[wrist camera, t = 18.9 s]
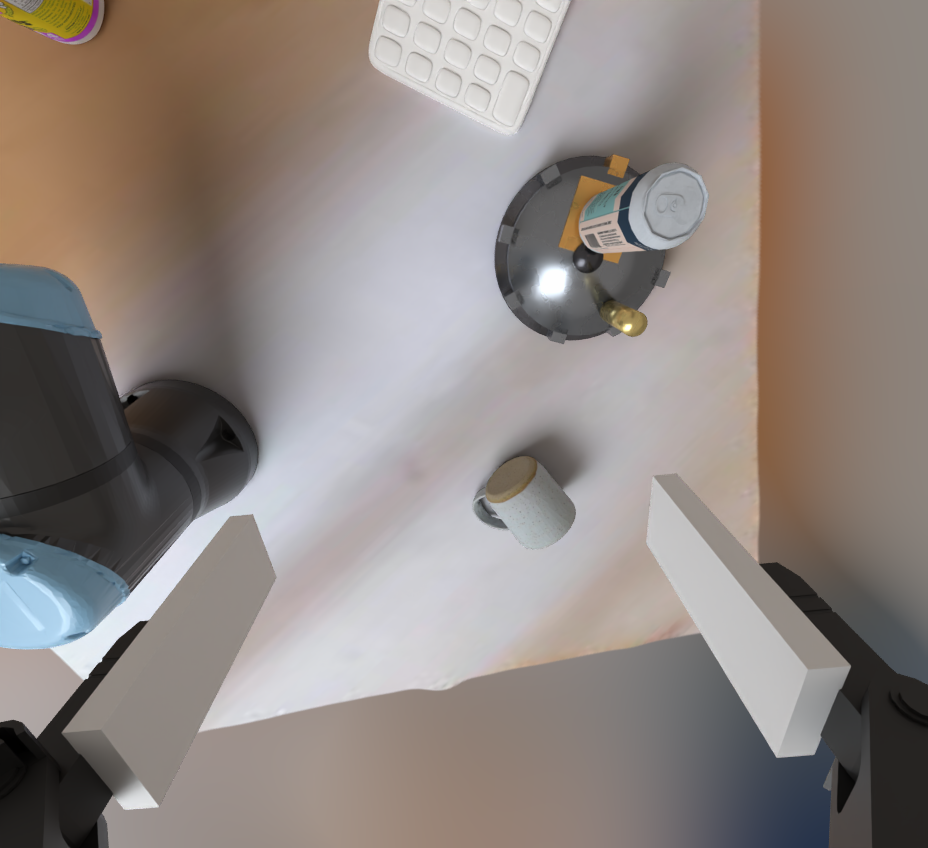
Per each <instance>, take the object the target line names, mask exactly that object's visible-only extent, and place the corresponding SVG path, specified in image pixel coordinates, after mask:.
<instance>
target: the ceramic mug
mask: <svg viewBox="0 0 928 848" xmlns="http://www.w3.org/2000/svg"><path fill="white" fill-rule="evenodd" d="M483 497H487V500H488V502H489V504H490V505H491V507H492V509H493V510H494V511H495V512H496V514H497V515H498V516H499V517H500V518H501V519H498V518H495V517H492V516H490V515H489V514H488V513H487V512H486V511H485V509H484V508H483V507H482V504H481V503H480V501H479V499H481V498H483ZM473 511H474V513H475V515H476V517H477V518H478V519H479V520H480V521H481V522H482V523H484V524H485V525H487V526H489V527H491V528H494V529H498V530H510V531H511V532H512V534H513V535H514V536H515V538H516V539H517V540H518V542H519V543H520V544H521V545H522V546H524V547H525V548H528V549H533V550H534V549H542V548H545V547H548V546H550V545H552V544H554V543H555V542H557V541H558V540H560V539H561V538H562V537H563V536H564V535H565V534H566V533H567V532H568V530H569V529H570V528H571V526H572V524H573V522H574V519H575V515H576V510H575V506H574V504H573V502H572V501H571V500H570V498H569V497H568V496H567V495H566V494H565V492H564V491H563V490H562V489H561V487H560V486H559V485H558V484H557V483H556V481H555V480H554V479H553V478H552V477H551V475H550V474H549V473H548V472H547V470H546V469H545V468H544V467H543V466H542V465H541V464H540V463H539V462H538V461H537V460H535V459H534V458H532V457H529V456H521V457H516V458H514V459H512V460H509V461H508V462H506V463H505V464H503V465H502V466H501V467H500V468H498V469H497V470H496V471H495V472H494V473H493V475H492V476H491V477H490V479H489V481H488V483H487V486H486V488H483V489H482V490H480V491H479V492H478V493H477V494H476V496H475V498H474V501H473Z"/></svg>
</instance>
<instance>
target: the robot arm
mask: <svg viewBox="0 0 928 848" xmlns="http://www.w3.org/2000/svg"><path fill="white" fill-rule="evenodd" d="M101 338H102V334H101V333H100V331H98V330H96V328H95V326H94V324H93V322H92V319H91V317H90V314H89V312H88V309H87V307H86V304H85V302H84V299H83V297H82V294H81V292H80V290H79V289H78V287H77V286H76V285H75V284H74V283H73V282H72V281H71V280H70V279H69V278H68V277H66V276H65V275H63V274H61V273H59V272H57V271H55V270H52V269H49V268H45V267H39V266H30V265H19V264H5V263H0V647H4V648H14V649H44V648H52V647H56V646H61V645H64V644H68V643H71V642H73V641H75V640H77V639H79V638H81V637H83V636H85V635H86V634H88V633H89V632H91V631H92V630H93V629H94V628H95V627H96V626H97V625H98V624H99V623H100V622H101V621H102V620H103V619H104V618H105V617H106V616H107V615H108V614H109V613H110V612H111V611H112V610H113V609H114V608H115V607H117V606H119V605H121V604H122V603H123V602H124V601H125V600H126V599H127V598H128V596H129V595H130V593H131V592H132V591H133V590H134V589H135V588H136V586H137V585H138V584H139V583H140V582H141V581H142V579H143V578H144V577H145V576H146V575H147V574H148V572H149V571H150V570H151V569H152V568H153V567H154V565H155V564H156V563H157V562H158V561H159V560H160V558H161V557H162V556H163V555H164V554H165V553H166V551H167V550H168V549H169V548H170V547H171V546H172V544H173V543H174V542H175V541H176V540H177V539H178V537H179V536H180V535H181V534H182V533H183V532H184V530H185V529H186V528H187V527H188V526H189V525H190V523H191V522H192V521H193V520H195V519H197V518H199V517H201V516H203V515H205V514H207V513H208V512H210V511H212V510H214V509H216V508H218V507H220V506H222V505H224V504H226V503H228V502H229V501H231V500H232V499H233V498H235V497H236V496H237V495H238V494H239V493H240V492H241V491H242V490H243V488H244V487H245V486H246V485H247V484H248V482H249V481H250V480H251V478H252V476H253V475H254V472H255V470H256V466H257V461H258V449H257V444H256V440H255V437H254V434H253V432H252V430H251V428H250V426H249V424H248V423H247V421H246V420H245V418H244V417H243V416H242V415H241V413H240V412H239V411H238V410H237V409H236V408H235V407H234V406H233V405H232V404H231V403H229V402H228V401H227V400H226V399H224V398H223V397H221V396H220V395H218V394H217V393H215V392H213V391H211V390H209V389H207V388H205V387H202V386H200V385H197V384H193V383H190V382H185V381H178V380H161V381H155V382H151V383H148V384H145V385H143V386H141V387H139V388H137V389H135V390H133V391H131V392H129V393H127V394H125V395H124V396H122V397H121V398H119V395H118V392H117V389H116V386H115V383H114V380H113V376H112V373H111V370H110V367H109V364H108V361H107V358H106V355H105V352H104V349H103V346H102V343H101V340H100V339H101ZM646 544H647V545H648V547H649V548H650V550H651V552H652V553H653V555H654V557H655V558H656V560H657V562H658V563H659V565H660V567H661V568H662V570H663V571H664V573H665V575H666V576H667V578H668V580H669V581H670V583H671V585H672V586H673V588H674V590H675V591H676V593H677V594H678V596H679V598H680V599H681V601H682V603H683V604H684V606H685V608H686V609H687V611H688V613H689V614H690V616H691V617H692V619H693V621H694V622H695V624H696V626H697V627H698V629H699V631H700V632H701V634H702V636H703V637H704V639H705V640H706V642H707V644H708V645H709V647H710V649H711V650H712V652H713V654H714V655H715V657H716V659H717V660H718V662H719V663H720V665H721V666H722V668H723V670H724V672H725V673H726V675H727V677H728V678H729V679H730V681H731V683H732V685H733V686H734V688H735V690H736V691H737V693H738V695H739V696H740V698H741V700H742V701H743V703H744V704H745V706H746V708H747V709H748V711H749V713H750V714H751V716H752V718H753V719H754V721H755V723H756V724H757V726H758V728H759V729H760V731H761V732H762V734H763V736H764V737H765V739H766V741H767V742H768V744H769V745H770V747H771V749H772V751H773V752H774V754H775V755H776V757H777V758H778V757H791V756H803V755H814V754H815V751H816V749H817V747H818V744H819V742H820V739H821V737H822V738H823V739H824V741H825V742H826V744H827V745H828V746H829V748H830V749H831V751H832V752H833V753H834V755H835V756H836V758H835V760H834V762H833V764H832V767H831V769H830V771H829V773H828V775H827V778H826V780H825V783H824V785H823V787H824V788H826V789H827V790H829V791H830V790H831V811H830V833H829V848H928V685H927V684H925V683H922V682H921V681H919V680H917V679H915V678H911V677H908V676H904V675H901V674H897V673H896V672H895V671H894V670H892V669H891V668H890V667H889V666H888V665H887V664H886V663H885V662H884V661H883V660H882V659H881V658H880V657H879V656H878V655H877V654H876V653H875V652H874V651H873V650H872V649H871V648H870V647H869V646H868V645H867V644H866V643H865V642H864V641H863V640H862V639H861V638H860V637H859V636H858V635H857V634H856V633H855V632H854V631H853V630H852V629H851V628H850V627H849V626H848V624H846V623H845V621H843V619H841V617H840V616H839V615H838V614H837V613H835V612H833V611H832V609H831V607H830V606H829V605H828V604H827V603H826V602H825V601H824V600H823V599H822V598H819V597H818V596H817V593H816V592H815V591H814V590H813V589H812V588H811V587H810V586H809V585H808V584H807V583H806V582H805V581H804V580H803V579H802V578H801V577H800V576H798V575H797V574H795V573H793V572H792V571H790V570H789V569H786V568H785V567H784V566H782V565H780V564H779V563H777V562H776V563H766V564H758V563H757V562H756V560H755V559H754V558H753V557H752V556H751V555H750V554H749V553H748V552H747V550H746V549H745V548H744V547H743V546H742V545H741V544H740V543H739V542H738V541H737V539H736V538H735V537H734V536H733V535H732V534H731V533H730V532H729V531H728V530H727V528H726V527H725V526H724V525H723V524H722V523H721V522H720V521H719V520H718V518H717V517H716V516H715V515H714V514H713V513H712V512H711V511H710V510H709V509H708V507H707V506H706V505H705V504H704V503H703V502H702V501H701V500H700V499H699V497H698V496H697V495H696V494H695V493H694V492H693V491H692V490H691V489H690V488H689V486H688V485H687V484H686V483H685V482H684V481H683V480H682V479H681V478H680V477H679V475H678V474H667V475H657V476H653V480H652V490H651V500H650V510H649V521H648V531H647V541H646ZM275 579H276V575H275V572H274V569H273V567H272V564H271V561H270V559H269V556H268V553H267V551H266V548H265V545H264V543H263V540H262V538H261V535H260V532H259V530H258V527H257V524H256V522H255V519H254V516H253V514H252V515H242V516H231V517H229V519H228V520H227V521H226V522H225V524H224V525H223V526H222V528H221V529H220V530H219V531H218V533H217V534H216V535H215V537H214V538H213V539H212V540H211V542H210V543H209V544H208V545H207V547H206V548H205V549H204V551H203V552H202V553H201V554H200V556H199V557H198V558H197V560H196V561H195V562H194V563H193V565H192V566H191V567H190V569H189V570H188V571H187V572H186V574H185V575H184V576H183V578H182V579H181V580H180V581H179V583H178V584H177V585H176V587H175V588H174V589H173V590H172V592H171V593H170V594H169V596H168V597H167V598H166V599H165V601H164V602H163V603H162V605H161V606H160V607H159V608H158V610H157V611H156V612H155V614H154V615H153V616H152V617H151V619H150V620H149V621H140V622H138V623H137V624H136V625H135V626H134V627H132V628H131V629H130V630H129V631H127V632H126V633H125V634H124V635H123V636H121V637H120V638H119V639H118V640H117V641H116V642H115V644H114V645H113V646H112V647H111V649H110V650H109V651H108V652H107V653H106V655H105V656H104V657H103V658H102V662H101V663H98V664H97V666H96V667H95V668H94V669H93V671H92V672H91V673H90V674H89V678H88V679H85V680H84V682H83V683H82V684H81V685H80V686H79V688H78V689H77V690H76V691H75V692H74V694H73V695H72V696H71V697H70V699H69V700H68V701H67V702H66V703H65V705H64V706H63V707H62V708H61V710H60V711H59V712H58V713H57V715H56V716H55V717H54V718H53V719H52V721H51V722H50V723H49V724H48V725H47V727H46V728H45V729H44V731H43V732H42V733H41V734H40V735H39V736H38V738H37V739H36V738H35V736H34V735H33V734H32V733H31V732H30V731H29V730H28V728H27V727H26V726H25V725H24V724H23V723H22V722H19V721H16V720H10V721H5V722H0V848H109V846H108V832H107V823H106V820H105V818H104V816H103V815H102V812H103V810H104V808H105V807H106V805H107V803H108V802H109V800H110V798H111V797H112V795H113V796H114V797H115V799H116V800H117V801H118V802H119V803H120V805H121V806H122V807H123V808H124V810H128V809H141V808H153V807H160V805H161V803H162V801H163V799H164V797H165V795H166V793H167V791H168V789H169V787H170V785H171V783H172V781H173V779H174V777H175V775H176V773H177V772H178V770H179V768H180V765H181V764H182V762H183V759H184V758H185V756H186V754H187V752H188V750H189V748H190V746H191V744H192V742H193V740H194V738H195V736H196V734H197V732H198V730H199V728H200V726H201V724H202V723H203V721H204V719H205V717H206V715H207V713H208V711H209V709H210V707H211V705H212V703H213V701H214V699H215V697H216V695H217V693H218V691H219V689H220V687H221V685H222V683H223V681H224V679H225V677H226V675H227V674H228V672H229V670H230V668H231V666H232V664H233V662H234V660H235V658H236V656H237V654H238V652H239V650H240V648H241V646H242V644H243V642H244V640H245V638H246V636H247V634H248V632H249V630H250V628H251V626H252V625H253V623H254V621H255V619H256V617H257V615H258V613H259V611H260V609H261V607H262V605H263V603H264V601H265V599H266V597H267V595H268V593H269V591H270V589H271V587H272V585H273V583H274V581H275ZM831 787H832V788H831Z"/></svg>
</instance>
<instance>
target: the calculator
mask: <svg viewBox="0 0 928 848" xmlns="http://www.w3.org/2000/svg"><path fill="white" fill-rule="evenodd" d="M496 2H497V3H496ZM561 2H562V3H561ZM570 2H571V0H380V1H379V5H378V9H377V13H376V17H375V21H374V25H373V29H372V33H371V38H370V43H369V59H370V62H371V63H372V65H373V66H374V67H375V68H376V69H377V70H379V71H380V72H382V73H383V74H385V75H387V76H389V77H391V78H392V79H394V80H396V81H398V82H400V83H402V84H404V85H406V86H408V87H410V88H412V89H414V90H416V91H418V92H420V93H422V94H424V95H426V96H428V97H430V98H432V99H434V100H436V101H438V102H440V103H442V104H444V105H446V106H448V107H450V108H451V109H453V110H455V111H457V112H459V113H461V114H463V115H465V116H467V117H469V118H471V119H473V120H475V121H477V122H479V123H481V124H483V125H485V126H487V127H489V128H491V129H493V130H495V131H497V132H499V133H502V134H505V135H514V134H515V133H517V132H518V130H519V129H520V127H521V125H522V123H523V121H524V118H525V116H526V114H527V111H528V109H529V106H530V104H531V101H532V99H533V96H534V94H535V91H536V88H537V86H538V83H539V81H540V78H541V76H542V73H543V71H544V68H545V65H546V63H547V60H548V58H549V55H550V53H551V50H552V48H553V45H554V43H555V40H556V37H557V35H558V32H559V30H560V27H561V25H562V22H563V20H564V17H565V15H566V12H567V9H568V7H569V4H570ZM423 3H424V4H423ZM450 4H451V5H450ZM495 5H496V6H495ZM456 14H457V15H456ZM455 17H456V18H455ZM526 19H527V20H526ZM551 26H552V27H551ZM415 31H416V32H415ZM440 33H441V34H440ZM414 35H415V36H414ZM547 38H548V39H547ZM510 43H511V44H510ZM446 46H447V47H446ZM444 53H445V54H444ZM477 59H478V60H477ZM475 64H476V65H475ZM500 70H501V71H500ZM437 75H438V76H437ZM436 78H437V79H436ZM461 79H462V80H461ZM435 82H436V84H435ZM470 84H471V85H470ZM501 87H502V88H501ZM497 98H498V99H497ZM523 101H524V102H523ZM518 114H519V115H518ZM516 119H517V120H516Z"/></svg>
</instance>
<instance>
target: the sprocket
mask: <svg viewBox="0 0 928 848" xmlns="http://www.w3.org/2000/svg"><path fill="white" fill-rule="evenodd" d="M629 160H630V159H627V158H624V157H621V156H618V155H611V156H609V157H607V158H606V159H605V162H604V165H603V167H602V166H591V167H583V168H579V169H574V170H572V171H569V172H567V173H564V174H562V175H560V173H559V170H558V168H557V166H556V164H555V165H553V166H551V167H550V168H548V169H547V170H545V171H544V172H542V173H541V174H539V175H538V176H536V177H537V180H538V182H539V184H540V186H541V188H539V189H538V190H537V191H536V192H535V193H534V194H533V195H532V196H531V197H530V198H529V199H528V201H527V202H526V203H525V204H524V205H523V207H522V209H521V210H520V212H519V213H518V215H517V217H516V219H515V221H514V223H513V225H512V227H511V226H507V225H502V226H501V230H500V233H499V237H498V241H499V242H502V243H506V244H507V250H506V269H507V276H508V280H509V283H510V287H511V290H509V291H507V292H506V293H504V294H503V295H504V297H505V299H506V301H507V303H508V305H509V307H510V308H511V310H514V309H516V308H517V307H519V306H522V308H523V309H524V310H525V311H526V312H527V313H528V315H529V316H531V317H532V318H533V319H534V320H535V321H536V322H538V323H539V324H541V325H542V326H544V327H546V328H548V332H547V335H546V336H547V337H548V339H549V340H550V341H554V342H558V343H562V344H564V342H565V339H566V337H567V335H589V334H594V333H599V332H601V331H604V330H606V332H607V333H608V334H610V335H611V336H613V337H614V336H616V335H618V334H619V333H621V332H623V333H625V334H626V335H628V336H631V337H635V336H638V335H640V334H642V333H643V332H644V331H645V329H646V327H647V318H646V316H645V315H644V314H643V313H641V312H639V311H637V309H638V308H639V307H640V306H641V305H642V303H643V302H644V301H645V300H646V298H647V297H648V296H649V294H650V293H651V291H652V289H653V288H654V286H655V285H656V286H659V287H663V288H664V287H665V285H666V282H667V280H668V278H669V275H670V273H671V272H668V271H665V270H661V269H662V266H663V262H664V257H665V250H666V249H662V250H648V251H633V252H618V253H597V252H594V251H592V250H591V249H589V248H588V247H587V246H586V245H585V244H584V242H583V241H582V239H581V237H580V234H579V218H580V214H581V212H582V210H583V208H584V206H585V205H586V203H587V202H588V201H589V200H590V199H591V198H592V197H593V196H595V195H597V194H599V193H601V192H604V191H606V190H608V189H611V188H613V187H615V186H617V185H619V184H622V183H624V182H626V181H628V180H630V179H633V178H635V177H633V176H631V175H630V174H628V173H626V172H625V171H626V168H627V166H628V163H629Z"/></svg>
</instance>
